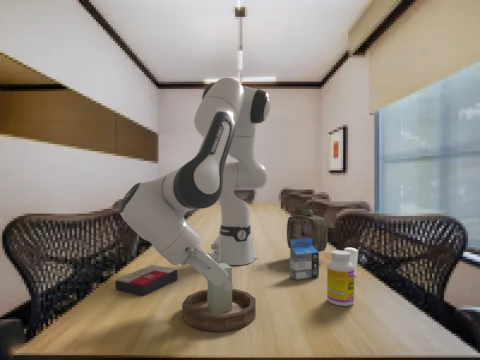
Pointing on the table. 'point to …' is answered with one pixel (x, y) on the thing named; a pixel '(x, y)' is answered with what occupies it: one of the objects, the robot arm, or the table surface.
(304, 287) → the table surface
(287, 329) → the table surface
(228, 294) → the block
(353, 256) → the milkshake
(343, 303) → the supplement bottle
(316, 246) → the tabletop clock
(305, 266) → the label tape cartridge
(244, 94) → the robot arm
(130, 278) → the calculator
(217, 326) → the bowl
